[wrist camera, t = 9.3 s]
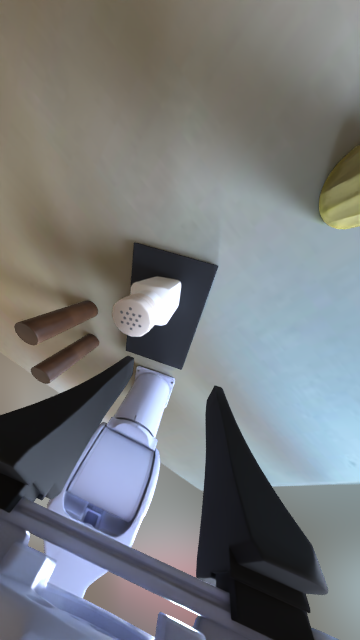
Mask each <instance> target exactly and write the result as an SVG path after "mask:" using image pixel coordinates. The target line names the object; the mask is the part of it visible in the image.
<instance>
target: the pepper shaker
mask: <svg viewBox="0 0 360 640" xmlns="http://www.w3.org/2000/svg"><path fill="white" fill-rule="evenodd" d="M180 292H181V282H180V281H178V280H175V279H169V278H164V277H158V276H156V277H152V278H149V279H145V280H142V281H139V282H135V283H133V285H132V286H131V291H130V295H129V296H127V297H124V298H122V299H120V300H119V301H118V302H117V303H116V304H115V305H114V306H113V311H112V317H113V320H114V323H115V325H116V326H117V327H118V328H119V329H120V330H121V331H122V332H123V333H125V334H127V335H129V336H131V337H141V336H143V335H144V334H146V333H147V332H149V330H150V329H151V328H152V327H153V326H154V325H165V324H167V322H168V321H169V319H170V318H171V316H172V315H173V313H174V312H175V310H176V309H177V307H178V306H179V299H180Z"/></svg>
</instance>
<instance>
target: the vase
mask: <svg viewBox="0 0 360 640" xmlns="http://www.w3.org/2000/svg"><path fill="white" fill-rule="evenodd" d="M319 212H320V215H321V217H322V219H323V221H324V222H325V223H326V224H327V225H329V226H331V227H333V228H337V229H350V228H354V227H358V226H360V145H358V146H357V147H355V148H354V149H353V150H351V151H350V152H349V153H348V154H347V155H346V156H345V157H344V158H343V159H342V160H341V161H340V162H339V163H338V164H337V165H336V166H335V167H334V169H333V170H332V171H331V173H330V174H329V176H328V178H327V180H326V181H325V183H324V186H323V188H322V190H321V193H320V198H319Z"/></svg>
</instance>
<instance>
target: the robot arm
mask: <svg viewBox="0 0 360 640" xmlns="http://www.w3.org/2000/svg"><path fill="white" fill-rule="evenodd" d="M133 365H134V358H133V357H130V356H126V357H125V358H123V359H122V360H120V361H119V362H117V363H116V364H114V365H113V366H111V367H110V368H108V369H106V370H105V371H103V372H102V373H100V374H98V375H96V376H95V377H93V378H91V379H89V380H87V381H85V382H84V383H82V384H80V385H78V386H75V387H73V388H71V389H69V390H67V391H65V392H62V393H60V394H58V395H55V396H53V397H50V398H48V399H45V400H43V401H40V402H38V403H35V404H33V405H30V406H27V407H24V408H21V409H18V410H15V411H12V412H9V413H6V414H3V415H0V640H339V639H337V638H335V637H332V636H330V635H328V634H326V633H324V632H321V631H319V630H316V629H314V628H311V626H310V623H309V619H308V616H307V612H308V613H310V607H309V604H308V600H307V597H306V594H318V595H324V594H327V593H328V587H327V584H326V581H325V578H324V576H323V573H322V570H321V567H320V564H319V562H318V559H317V557H316V554H315V552H314V549H313V547H312V545H311V543H310V542H309V540H308V539H307V537H306V536H305V535H304V533H303V532H302V531H301V529H300V528H299V526H298V525H297V523H296V522H295V520H294V519H293V518H292V516H291V515H290V513H289V512H288V511H287V509H286V508H285V506H284V505H283V503H282V502H281V500H280V499H279V497H278V496H277V494H276V493H275V491H274V489H273V488H272V486H271V485H270V483H269V481H268V480H267V478H266V476H265V475H264V473H263V472H262V470H261V468H260V467H259V465H258V463H257V462H256V460H255V458H254V456H253V455H252V453H251V451H250V449H249V447H248V445H247V443H246V441H245V440H244V438H243V436H242V433H241V431H240V429H239V427H238V425H237V423H236V421H235V418H234V416H233V414H232V411H231V409H230V407H229V404H228V402H227V399H226V396H225V394H224V391H223V389H222V388H221V387H218V386H214V388H213V390H212V392H211V394H210V395H209V397H208V399H207V404H206V464H205V480H204V493H203V505H202V516H201V526H200V536H199V545H198V554H197V569H196V577H193V576H191V575H189V574H187V573H185V572H183V571H180V570H178V569H176V568H174V567H172V566H170V565H167V564H165V563H163V562H161V561H159V560H157V559H154V558H152V557H150V556H148V555H146V554H144V553H142V552H140V551H137V550H135V549H133V548H131V546H132V544H133V542H134V539H135V536H136V533H137V531H138V528H139V526H140V524H141V521H142V519H143V518H144V516H145V514H146V512H147V510H148V508H149V505H150V502H151V500H152V497H153V493H154V490H155V486H156V483H157V479H158V473H159V469H160V456H159V451H158V450H157V449H156V444H157V441H158V440H157V439H155V437H156V433H157V430H158V427H159V423H160V420H161V417H162V414H163V410H164V407H166V406H167V403H168V400H169V397H170V394H171V391H172V388H173V385H174V382H175V379H174V378H173V377H170V376H167V375H164V374H161V373H159V372H156V371H153V370H150V369H147V368H144V367H142V366H137V368H136V375H135V382H134V384H133V386H132V387H131V389H130V391H129V392H128V394H127V396H126V397H125V399H124V401H123V402H122V404H121V405H120V407H119V409H118V410H117V412H116V414H115V415H114V417H111V419H110V420H109V422H108V424H107V423H105V422H102V423H101V421H102V419H103V418H104V416H105V415H106V413H107V412H108V410H109V409H110V407H111V406H112V405H113V403H114V402H115V400H116V399H117V398H118V396H119V395H120V393H121V392H122V391H123V389H124V388H125V386H126V385H127V383H128V381H129V380H130V378H131V376H132V374H133ZM100 423H101V424H100ZM44 497H47V498H49V499H50V500H49V502H48V504H47V508H45V507H43V506H40V505H38V504H36V503H34V501H35V499H36V498H38V499H40V500H43V499H44ZM30 533H31V534H33V535H35V536H37V537H39V538H42V539H43V540H44V551H45V552H44V553H45V554H44V553H42V552H39V551H37V550H35V549H33V548H31V547H29V546H28V542H29V539H30ZM107 571H109V572H111V573H113V574H115V575H117V576H120V577H122V578H124V579H126V580H128V581H130V582H132V583H134V584H136V585H138V586H140V587H142V588H145V589H146V590H148V591H150V592H152V593H155V594H157V595H159V596H161V597H163V598H165V599H167V600H169V601H171V602H173V603H175V604H177V605H179V606H181V607H183V608H185V609H187V610H189V611H191V612H193V613H196V614H198V615H200V616H198V617H197V618H196V620H195V623H194V626H193V627H190V626H188V625H186V624H184V623H182V622H180V621H178V620H176V619H174V618H172V617H170V616H168V615H166V614H164V613H162V612H160V613H159V614H158V620H157V627H156V635H155V637H153V636H151V635H150V634H148V633H146V632H144V631H143V630H141V629H139V628H137V627H135V626H133V625H132V624H130V623H128V622H126V621H125V620H123V619H121V618H119V617H117V616H115V615H114V614H112V613H110V612H108V611H106V610H104V609H102V608H100V607H98V606H96V605H94V604H92V603H90V602H88V601H86V600H84V599H83V596H84V594H85V591H86V589H87V587H88V586H89V585H90V584H91V583H92V582H94V581H95V580H96V579H98V578H99V577H100V576H102V575H103V574H105V573H106V572H107ZM206 582H207V583H206ZM208 583H209V584H208Z"/></svg>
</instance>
